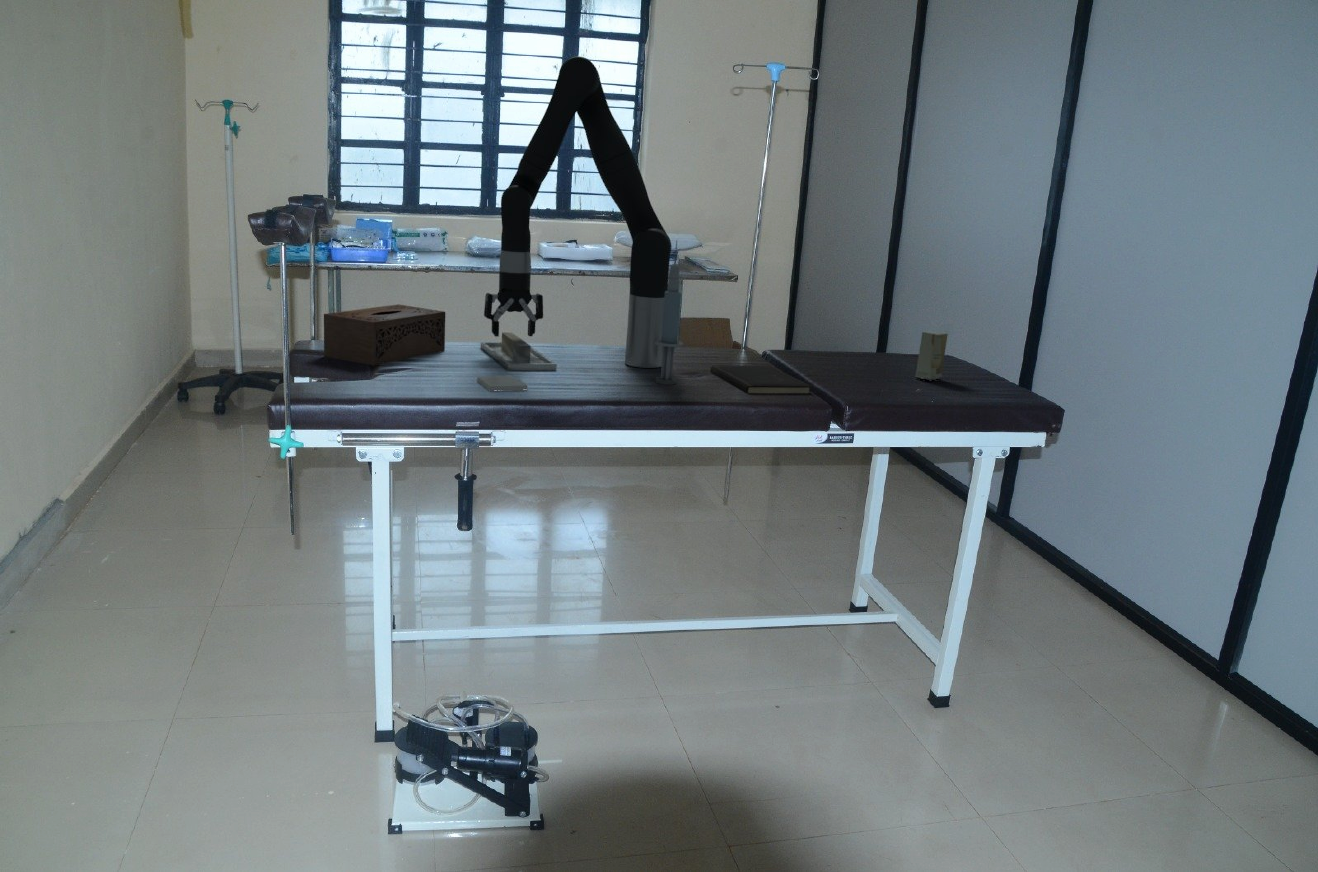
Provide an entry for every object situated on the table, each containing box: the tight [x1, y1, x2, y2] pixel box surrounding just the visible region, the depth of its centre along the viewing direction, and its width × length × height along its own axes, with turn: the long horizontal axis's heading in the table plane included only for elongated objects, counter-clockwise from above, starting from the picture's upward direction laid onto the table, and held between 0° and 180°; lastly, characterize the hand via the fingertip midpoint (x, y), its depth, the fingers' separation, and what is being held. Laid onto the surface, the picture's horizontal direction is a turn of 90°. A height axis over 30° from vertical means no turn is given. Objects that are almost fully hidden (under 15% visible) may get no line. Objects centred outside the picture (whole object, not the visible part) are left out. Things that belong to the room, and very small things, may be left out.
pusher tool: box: [501, 331, 532, 363], centre depth 249 cm, size 3×18×4 cm, turn 22°
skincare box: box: [915, 330, 949, 379], centre depth 261 cm, size 6×4×12 cm
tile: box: [476, 375, 528, 392], centre depth 219 cm, size 8×2×10 cm
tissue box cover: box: [323, 303, 446, 366], centre depth 242 cm, size 26×14×10 cm, turn 154°
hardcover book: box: [710, 364, 813, 394], centre depth 242 cm, size 16×23×2 cm
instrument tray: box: [480, 341, 558, 372], centre depth 248 cm, size 12×28×2 cm, turn 22°
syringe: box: [655, 230, 684, 385], centre depth 230 cm, size 5×6×35 cm
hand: (513, 336), depth 252 cm, fingers open, 8 cm apart
